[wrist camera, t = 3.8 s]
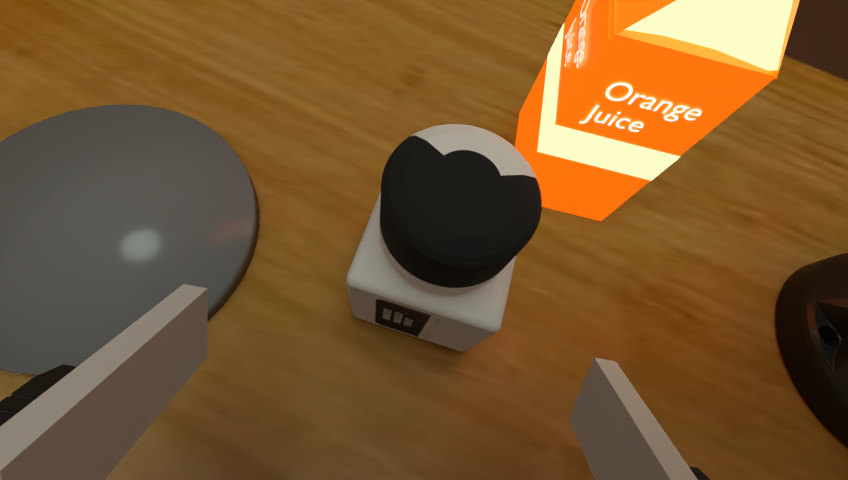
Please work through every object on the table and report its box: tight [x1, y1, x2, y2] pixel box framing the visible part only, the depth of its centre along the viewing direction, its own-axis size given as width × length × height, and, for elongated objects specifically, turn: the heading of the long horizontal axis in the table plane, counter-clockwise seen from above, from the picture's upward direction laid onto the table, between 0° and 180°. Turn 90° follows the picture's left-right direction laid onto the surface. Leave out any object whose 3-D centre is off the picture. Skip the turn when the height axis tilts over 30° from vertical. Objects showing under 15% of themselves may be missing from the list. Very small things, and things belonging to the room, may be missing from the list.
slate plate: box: [0, 105, 259, 375], centre depth 25 cm, size 18×18×2 cm
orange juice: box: [515, 0, 800, 221], centre depth 23 cm, size 8×9×20 cm
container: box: [346, 124, 542, 352], centre depth 21 cm, size 8×8×13 cm
